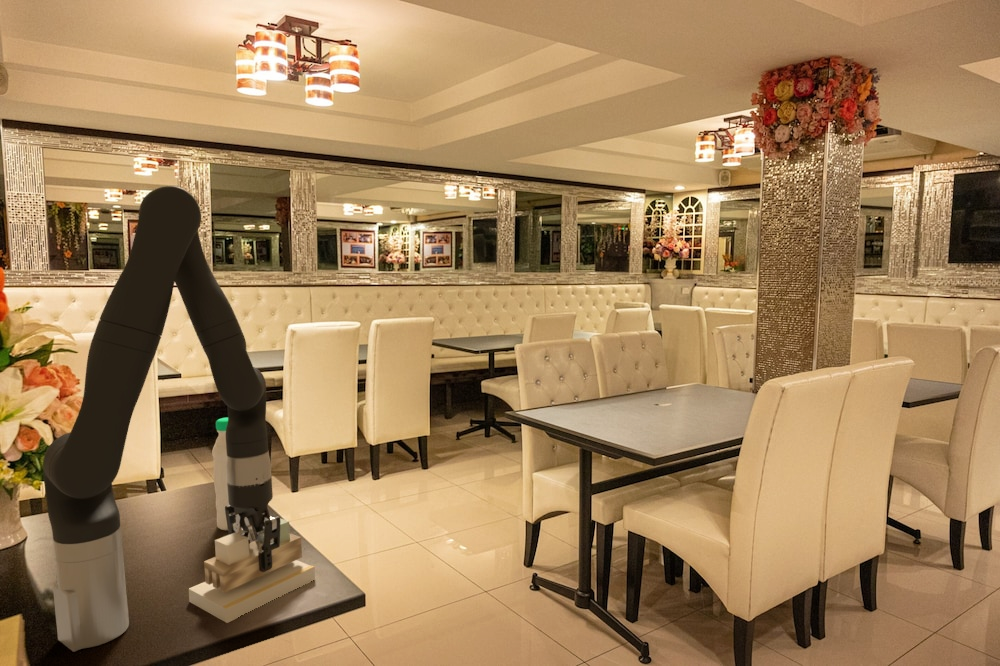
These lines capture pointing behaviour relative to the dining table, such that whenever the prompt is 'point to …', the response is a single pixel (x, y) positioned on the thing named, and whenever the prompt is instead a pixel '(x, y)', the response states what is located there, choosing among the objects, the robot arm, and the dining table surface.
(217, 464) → the water bottle
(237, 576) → the pallet
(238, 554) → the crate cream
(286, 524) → the block
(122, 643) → the dining table surface
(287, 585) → the dock
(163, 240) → the robot arm
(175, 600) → the dining table surface
